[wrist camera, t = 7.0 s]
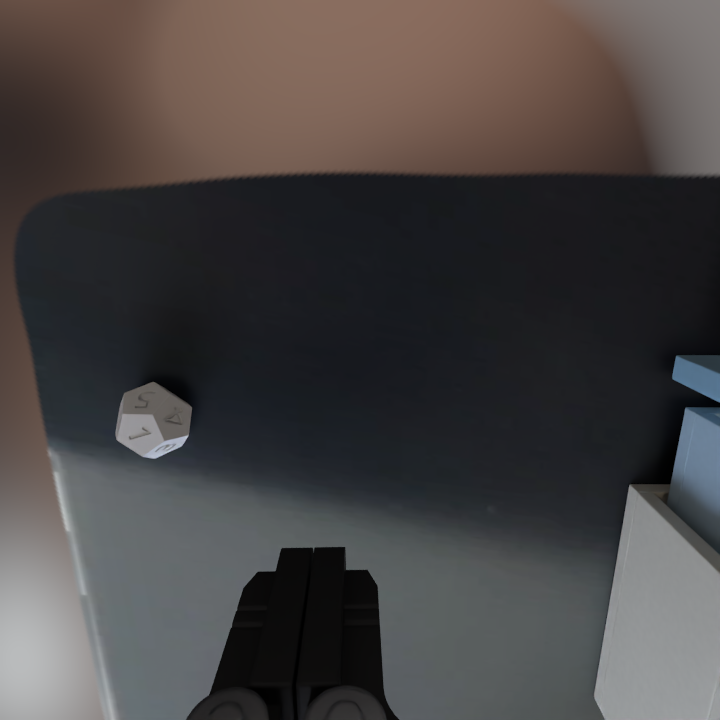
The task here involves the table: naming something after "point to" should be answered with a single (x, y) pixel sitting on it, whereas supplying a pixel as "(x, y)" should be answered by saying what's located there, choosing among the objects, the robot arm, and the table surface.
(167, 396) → the game die
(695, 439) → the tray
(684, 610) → the beige drawer box
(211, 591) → the table surface
